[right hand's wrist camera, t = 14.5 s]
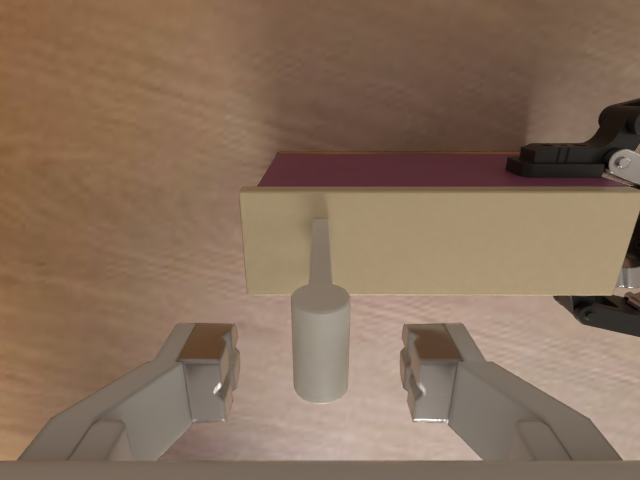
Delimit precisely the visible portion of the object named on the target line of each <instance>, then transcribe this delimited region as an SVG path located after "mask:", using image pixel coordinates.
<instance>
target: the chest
mask: <svg viewBox="0 0 640 480" xmlns="http://www.w3.org/2000/svg"><path fill="white" fill-rule="evenodd" d="M508 156H520V152H278V153H277V155H276V157H275V159H274V160H273V162H272V163H271V165H270V167H269V168H268V170H267V171H266V173H265V175H264V176H263V178H262V179H261V181H260V183H259V184H258V186H257V187H629V186H628V185H625V184H622V183H619V182H616V181H613V180H609V179H606V178H603V177H601V178H527V177H520V176H517V175H515V174H513V173H511V172H508V171H506V170H505V168H506V162H507V157H508Z"/></svg>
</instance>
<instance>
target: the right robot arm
mask: <svg viewBox="0 0 640 480" xmlns="http://www.w3.org/2000/svg"><path fill="white" fill-rule="evenodd" d="M237 340H238V332H237V326H236V325H235V324H222V323H179V324H176V325H175V327H174V329H173V330H172V332H171V334H170V335H169V337H168V338H167V340H166V342H165V343H164V345H163V347H162V348H161V350H160V352H159V353H158V355H157V356H156V358H155V360H154V361H153V362H146V363H144V364H143V365H141V366H139V367H138V368H136V369H134V370H133V371H131V372H129V373H127V374H126V375H124V376H122V377H121V378H119V379H117V380H115V381H114V382H112V383H110V384H109V385H107V386H105V387H103V388H102V389H100V390H98V391H97V392H95V393H93V394H92V395H90V396H88V397H86V398H85V399H83V400H81V401H80V402H78V403H76V404H74V405H73V406H71V407H69V408H68V409H66V410H64V411H63V412H61V413H59V414H57V415H56V416H54V417H52V418H51V419H50V420H49V421H48V423H47V424H46V425H45V426H44V428H43V429H42V430H41V431H40V432H39V434H38V435H37V436H36V437H35V439H34V440H33V441H32V442H31V443H30V445H29V446H28V447H27V448H26V450H25V451H24V452H23V453H22V454H21V456H20V457H19V458H18V459H17V461H0V480H640V461H623V459H622V458H621V457H620V456H619V455H618V453H617V452H616V451H615V450H614V448H613V447H612V446H611V445H610V443H609V442H608V441H607V440H606V438H605V437H604V436H603V435H602V434H601V432H600V431H599V430H598V429H597V427H596V426H595V425H594V424H593V422H592V421H591V420H590V419H589V418H587V417H586V416H584V415H582V414H581V413H579V412H577V411H575V410H574V409H572V408H570V407H569V406H567V405H565V404H564V403H562V402H560V401H558V400H557V399H555V398H553V397H552V396H550V395H548V394H547V393H545V392H543V391H541V390H540V389H538V388H536V387H535V386H533V385H531V384H529V383H528V382H526V381H524V380H523V379H521V378H519V377H518V376H516V375H514V374H512V373H511V372H509V371H507V370H506V369H504V368H502V367H501V366H499V365H497V364H495V363H494V362H487V361H486V360H485V358H484V357H483V355H482V353H481V352H480V350H479V349H478V347H477V345H476V344H475V342H474V340H473V339H472V337H471V336H470V334H469V332H468V331H467V329H466V328H465V326H464V324H462V323H442V324H404V326H403V331H402V340H403V343H404V346H405V347H404V348H403V349H402V351H401V352H400V375H401V381H402V384H403V388H404V389H405V390H406V391H408V397H407V403H408V406H409V410H410V413H411V417H412V420H413V422H427V423H448V425H449V426H450V427H451V428H452V429H453V430H454V431H455V432H456V433H457V434H458V435H459V436H460V437H461V438H462V439H463V440H464V441H465V442H466V443H467V444H468V445H469V446H470V447H471V448H472V449H473V450H474V451H475V452H476V453H477V454H478V455H479V456H480V457H481V458H482V459H483V460H484V461H156V460H157V459H158V458H159V457H160V456H161V455H162V454H163V453H164V452H165V451H166V450H167V449H168V448H169V447H170V446H171V445H172V444H173V443H175V442H176V441H177V440H178V439H179V438H180V437H181V436H182V435H183V434H184V433H185V432H186V431H187V430H188V429H189V428H190V427H191V426H192V423H212V422H227V420H228V417H229V413H230V410H231V406H232V403H233V397H232V391H233V390H235V389H236V388H237V384H238V380H239V373H240V352H239V351H238V350H237V348H236V347H235V346H236V343H237Z"/></svg>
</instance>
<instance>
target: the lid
mask: <svg viewBox="0 0 640 480" xmlns="http://www.w3.org/2000/svg"><path fill="white" fill-rule="evenodd" d="M239 202H240V214H241V226H242V239H243V251H244V263H245V276H246V288H247V294H248V295H292V297H291V315H292V346H293V377H294V388H295V391H296V392H297V394H298V395H299V396H300V397H301V398H302V399H304V400H306V401H308V402H310V403H314V404H327V403H331V402H334V401H336V400H338V399H339V398H341V397H342V396H343V395H344V393H345V392H346V390H347V387H348V366H349V336H350V306H351V298H350V295H613V293H614V290H615V287H616V283H617V280H618V277H619V274H620V271H621V268H622V265H623V262H624V259H625V255H626V252H627V249H628V246H629V243H630V240H631V237H632V234H633V230H634V227H635V224H636V221H637V218H638V215H639V212H640V190H639V189H636V188H633V187H242V189H241V190H240V191H239Z"/></svg>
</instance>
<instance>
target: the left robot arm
mask: <svg viewBox="0 0 640 480" xmlns="http://www.w3.org/2000/svg"><path fill="white" fill-rule="evenodd" d="M598 123H599V126H600V127H599V129H598V131H597V132H596V134H595V135H594V136H593V137H592V138H591V139H590V140H588V141H586V142H584V143H532V144H529V145H526V146H524V147H521V151H520V156H508V157H507V162H506V168H505V170H506V171H508V172H511V173H513V174H515V175H517V176H520V177H527V178H601V177H602V173H604V174H606V175H608V176H610V177H612V178H615V179H618V180H620V181H623V182H625V183H628V184H630V185H633V186H631V187H633V188H636V189H639V190H640V154H639V153H637V152H634V151H635V149H636V148H637V146H638V145H639V143H640V98H639V99H635V100H631V101H627V102H623V103H619V104H615V105H611V106H608V107H606V108H605V109H604V110H603V111H602V112H601V114H600V116H599V119H598ZM616 287H626V288H640V212H639V215H638V218H637V221H636V224H635V227H634V230H633V234H632V237H631V240H630V243H629V246H628V249H627V252H626V255H625V259H624V262H623V265H622V268H621V271H620V274H619V277H618V280H617V283H616ZM616 287H615V288H616ZM553 297H554V299H555V300H556V301H557V302H558V303H559V304H561V305H563V306H564V307H565V308H566V309H567V310H568V311H569V312H570V313H571V314H573V315H574V317H575V318H576V319H577V320H578V321H579V322H580V323H582V324H584V325H588V326H593V327H597V328H602V329H606V330H610V331H615V332H619V333H624V334H628V335H633V336H637V337H640V293H636V294H633V293H632V292H627V293H626V294H625V295H624V297H620V296H615V295H553Z"/></svg>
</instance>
